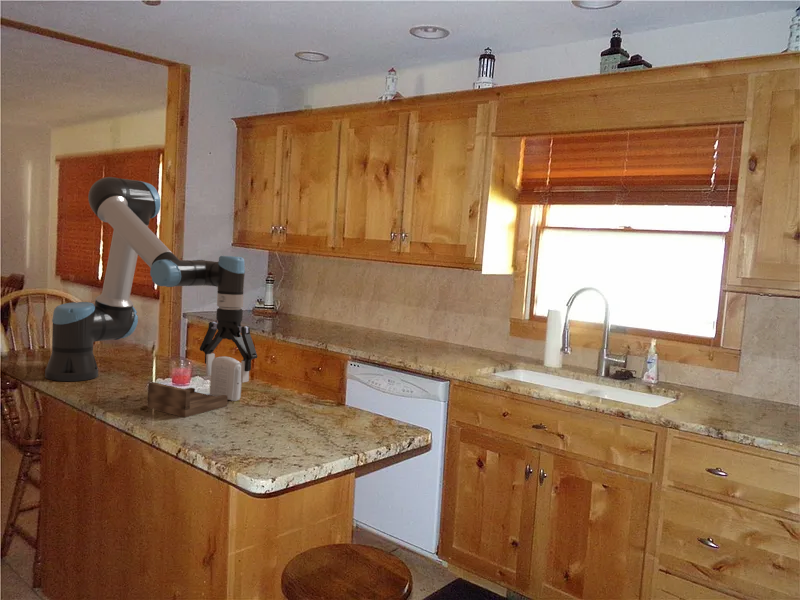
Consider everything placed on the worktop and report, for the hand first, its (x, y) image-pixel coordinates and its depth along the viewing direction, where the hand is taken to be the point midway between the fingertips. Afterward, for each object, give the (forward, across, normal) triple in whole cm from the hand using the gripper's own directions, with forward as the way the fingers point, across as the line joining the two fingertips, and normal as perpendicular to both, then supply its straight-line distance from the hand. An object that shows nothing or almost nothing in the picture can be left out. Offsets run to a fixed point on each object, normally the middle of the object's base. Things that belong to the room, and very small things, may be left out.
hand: (226, 378), depth 194 cm
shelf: (+6, 0, -15) cm, 16 cm away
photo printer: (+6, 0, 0) cm, 6 cm away
